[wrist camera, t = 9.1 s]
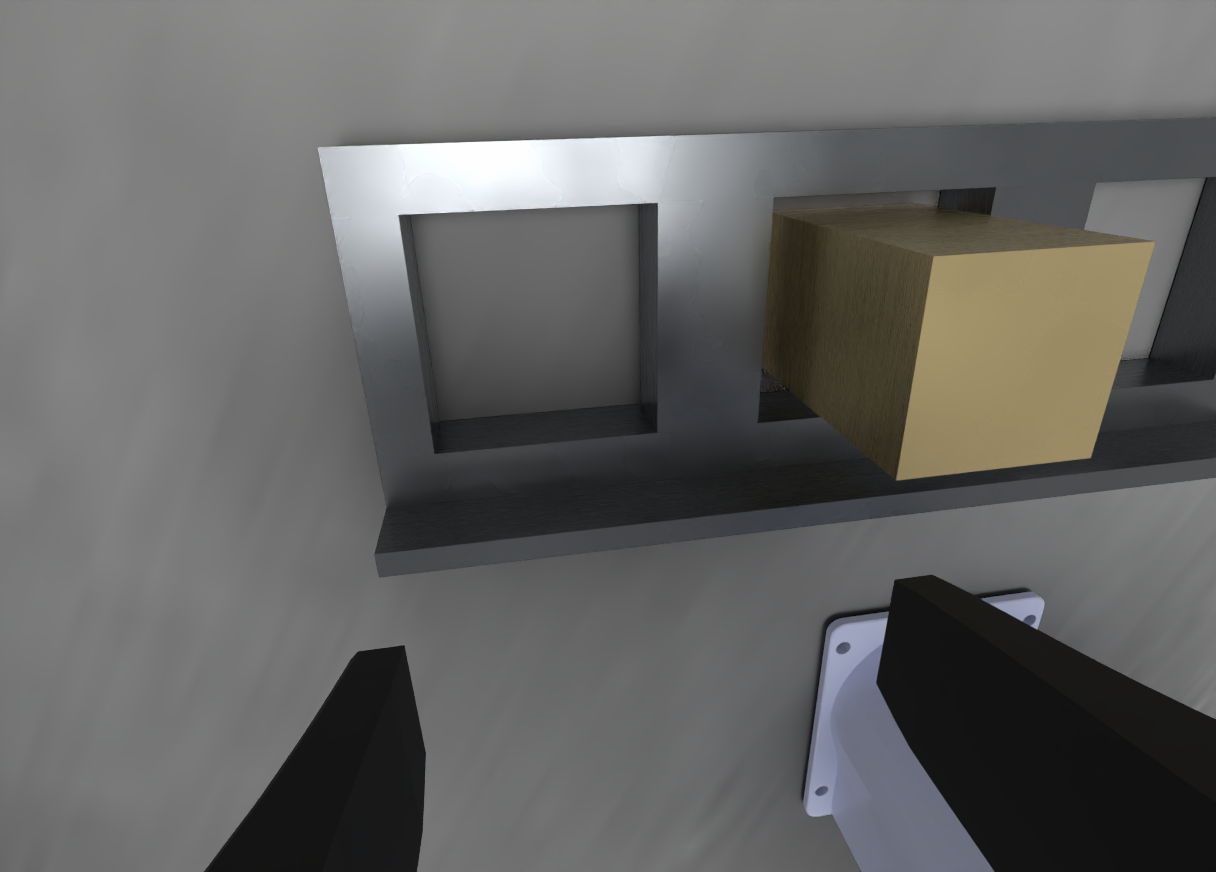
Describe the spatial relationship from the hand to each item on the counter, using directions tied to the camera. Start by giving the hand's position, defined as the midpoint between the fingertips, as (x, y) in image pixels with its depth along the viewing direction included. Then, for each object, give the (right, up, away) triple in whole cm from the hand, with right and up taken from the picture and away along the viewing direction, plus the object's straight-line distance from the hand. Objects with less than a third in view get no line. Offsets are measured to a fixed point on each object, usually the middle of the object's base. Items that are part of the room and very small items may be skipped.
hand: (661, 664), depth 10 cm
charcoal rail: (+5, +7, +8) cm, 12 cm away
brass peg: (+5, +7, +8) cm, 12 cm away
